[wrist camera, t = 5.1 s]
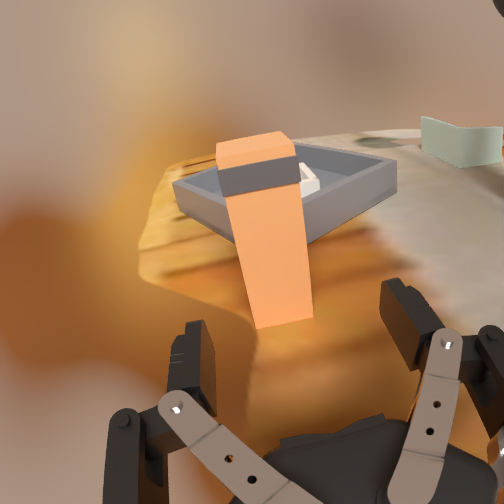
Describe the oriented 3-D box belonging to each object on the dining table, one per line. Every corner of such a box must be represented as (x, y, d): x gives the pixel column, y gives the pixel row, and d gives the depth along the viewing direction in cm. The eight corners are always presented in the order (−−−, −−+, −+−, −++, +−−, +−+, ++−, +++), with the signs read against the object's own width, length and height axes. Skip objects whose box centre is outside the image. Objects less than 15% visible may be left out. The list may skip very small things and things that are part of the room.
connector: (249, 293, 28) (215, 143, 21) (302, 282, 28) (281, 130, 21) (255, 330, 24) (214, 159, 17) (314, 317, 24) (296, 143, 17)
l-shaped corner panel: (500, 165, 45) (502, 127, 41) (459, 171, 45) (460, 129, 41) (462, 148, 55) (462, 114, 52) (421, 153, 55) (420, 116, 51)
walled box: (290, 165, 56) (287, 141, 54) (396, 192, 40) (396, 160, 38) (179, 210, 47) (171, 182, 45) (271, 265, 31) (263, 223, 28)
